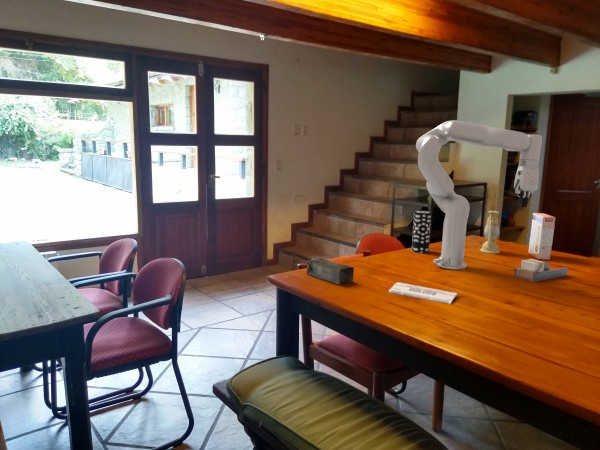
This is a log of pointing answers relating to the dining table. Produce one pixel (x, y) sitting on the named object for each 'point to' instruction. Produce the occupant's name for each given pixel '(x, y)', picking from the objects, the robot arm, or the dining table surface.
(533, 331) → the dining table surface
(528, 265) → the block
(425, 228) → the white-spotted black cylinder
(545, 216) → the cracker box
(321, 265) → the beverage carton
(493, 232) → the lantern
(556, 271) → the grey shallow tray
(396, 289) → the newspaper
